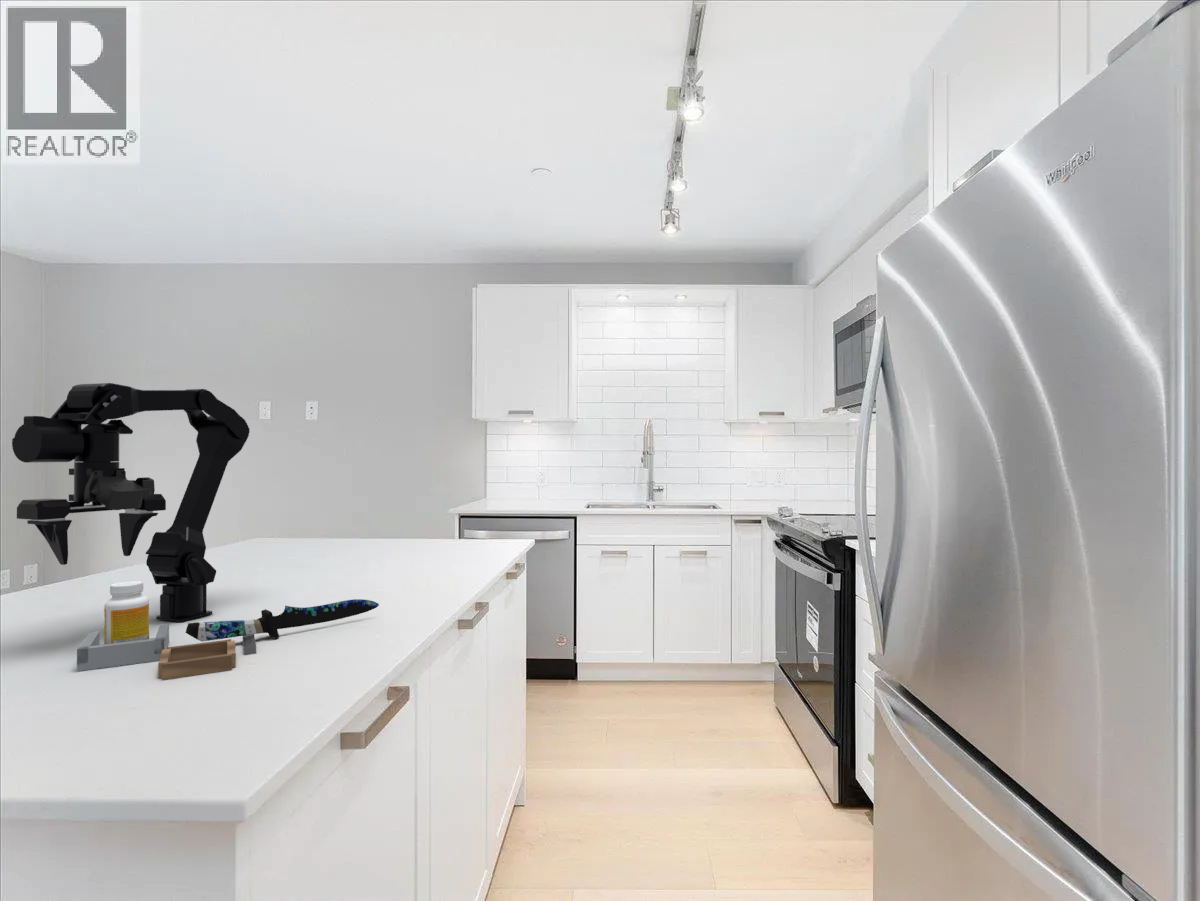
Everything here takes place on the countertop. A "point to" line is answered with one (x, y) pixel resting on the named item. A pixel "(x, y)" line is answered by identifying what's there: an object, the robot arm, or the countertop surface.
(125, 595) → the supplement bottle
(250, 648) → the bar
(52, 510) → the robot arm
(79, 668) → the tray
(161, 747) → the countertop surface
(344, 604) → the knife
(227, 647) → the socket collar
